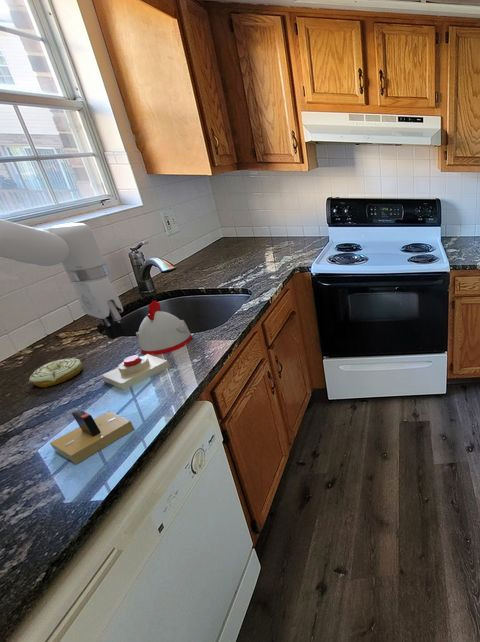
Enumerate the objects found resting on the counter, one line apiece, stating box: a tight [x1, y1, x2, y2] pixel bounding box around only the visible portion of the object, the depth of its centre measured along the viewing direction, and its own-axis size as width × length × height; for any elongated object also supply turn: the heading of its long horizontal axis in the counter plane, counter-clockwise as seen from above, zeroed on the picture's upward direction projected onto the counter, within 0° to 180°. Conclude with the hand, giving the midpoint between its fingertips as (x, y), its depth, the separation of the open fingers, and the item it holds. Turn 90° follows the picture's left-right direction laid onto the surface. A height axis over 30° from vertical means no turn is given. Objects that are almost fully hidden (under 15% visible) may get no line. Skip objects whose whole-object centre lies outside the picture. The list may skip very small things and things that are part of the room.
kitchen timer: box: [135, 300, 193, 356], centre depth 118 cm, size 14×14×15 cm
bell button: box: [122, 354, 141, 367], centre depth 104 cm, size 4×4×2 cm
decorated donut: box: [28, 357, 83, 388], centre depth 105 cm, size 10×11×4 cm
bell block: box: [101, 354, 171, 391], centre depth 105 cm, size 12×10×4 cm
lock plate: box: [49, 410, 135, 465], centre depth 82 cm, size 11×9×3 cm
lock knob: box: [71, 408, 101, 437], centre depth 81 cm, size 5×1×5 cm, turn 66°
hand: (116, 336), depth 100 cm, fingers closed
